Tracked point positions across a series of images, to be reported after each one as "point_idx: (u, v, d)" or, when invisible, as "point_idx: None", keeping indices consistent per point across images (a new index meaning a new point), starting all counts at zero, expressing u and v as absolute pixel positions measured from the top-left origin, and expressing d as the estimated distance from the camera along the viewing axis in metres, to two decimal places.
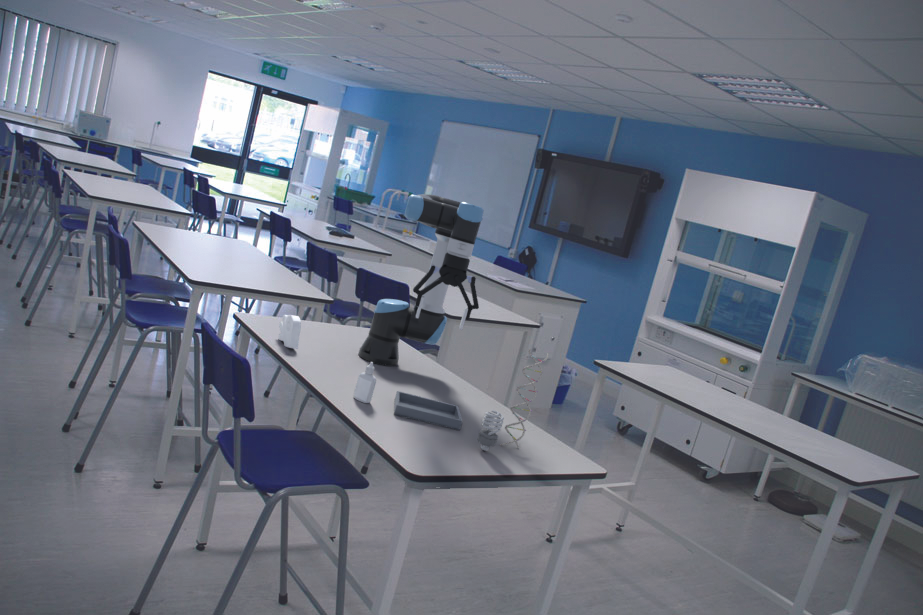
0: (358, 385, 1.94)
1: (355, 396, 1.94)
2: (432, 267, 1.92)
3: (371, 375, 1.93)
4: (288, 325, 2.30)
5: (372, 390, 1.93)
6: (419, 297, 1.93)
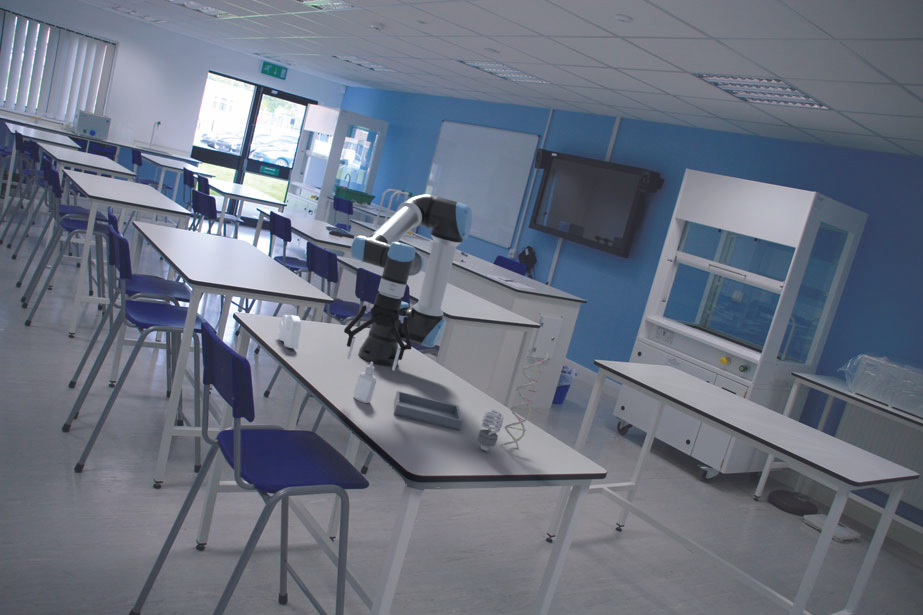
0: (358, 385, 1.94)
1: (355, 396, 1.94)
2: (363, 307, 1.89)
3: (371, 375, 1.93)
4: (288, 325, 2.30)
5: (372, 390, 1.93)
6: (350, 337, 1.91)
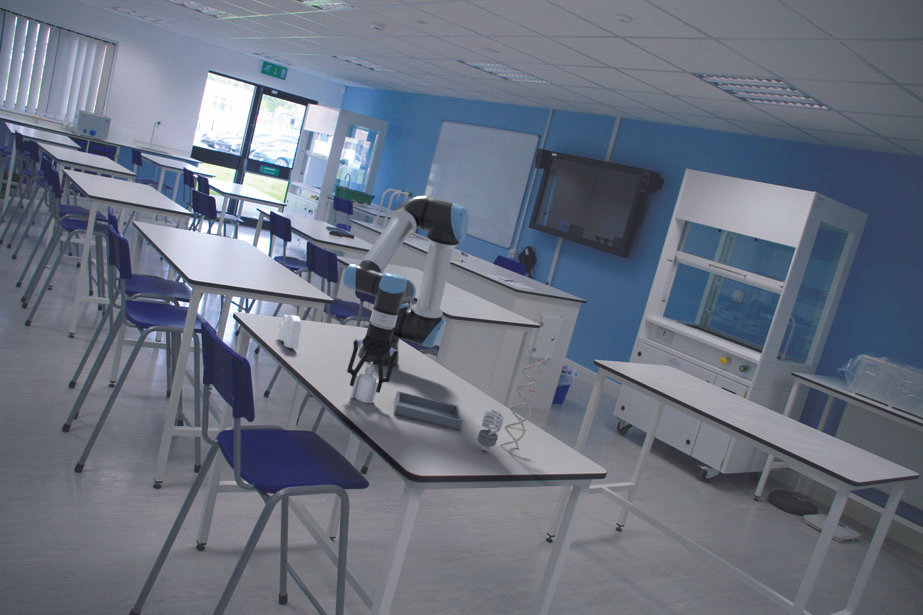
0: (358, 385, 1.94)
1: (355, 396, 1.94)
2: (354, 343, 1.91)
3: (371, 375, 1.93)
4: (288, 325, 2.30)
5: (372, 390, 1.93)
6: (353, 377, 1.93)
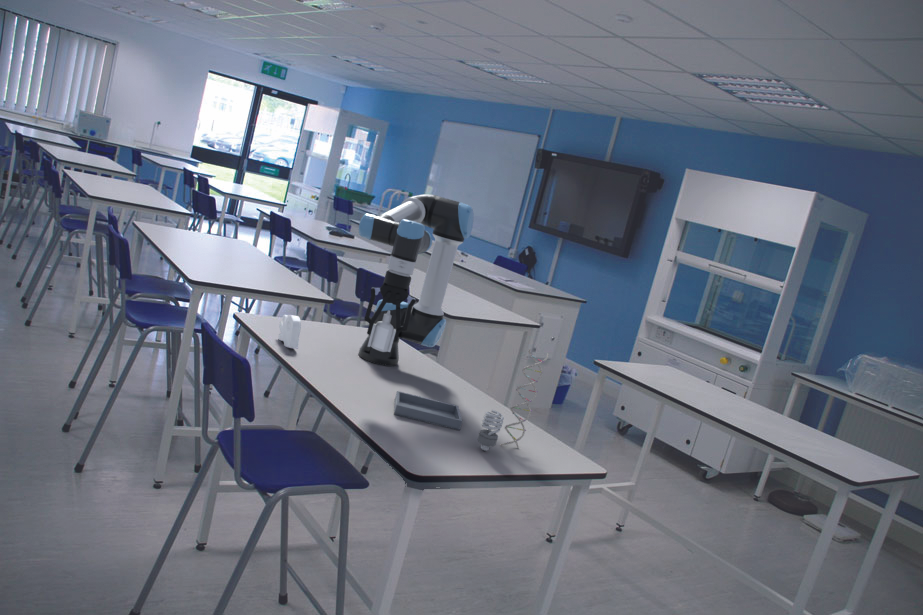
0: (375, 334, 1.92)
1: (372, 345, 1.92)
2: (372, 290, 1.89)
3: (388, 323, 1.91)
4: (288, 325, 2.29)
5: (389, 338, 1.91)
6: (371, 325, 1.91)
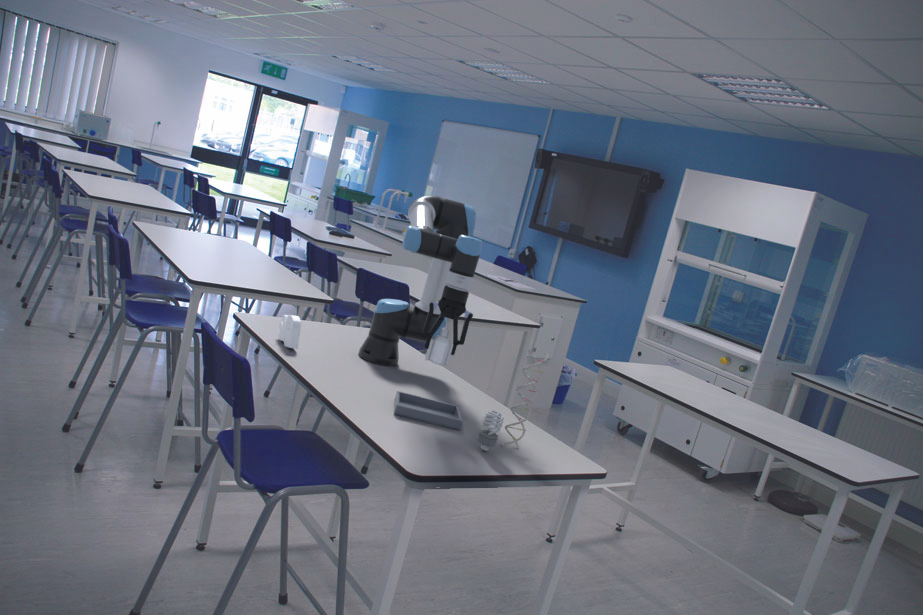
0: (433, 347, 1.95)
1: (430, 358, 1.95)
2: (430, 305, 1.92)
3: (446, 337, 1.94)
4: (288, 325, 2.30)
5: (447, 352, 1.94)
6: (428, 339, 1.94)
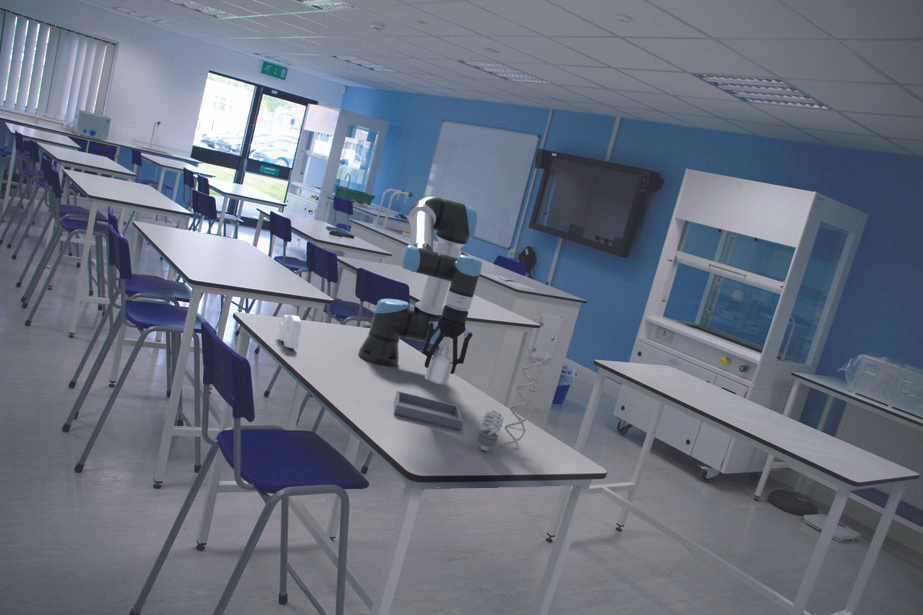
0: (433, 366, 1.96)
1: (429, 377, 1.96)
2: (430, 324, 1.93)
3: (446, 356, 1.95)
4: (288, 325, 2.30)
5: (446, 371, 1.95)
6: (428, 358, 1.95)
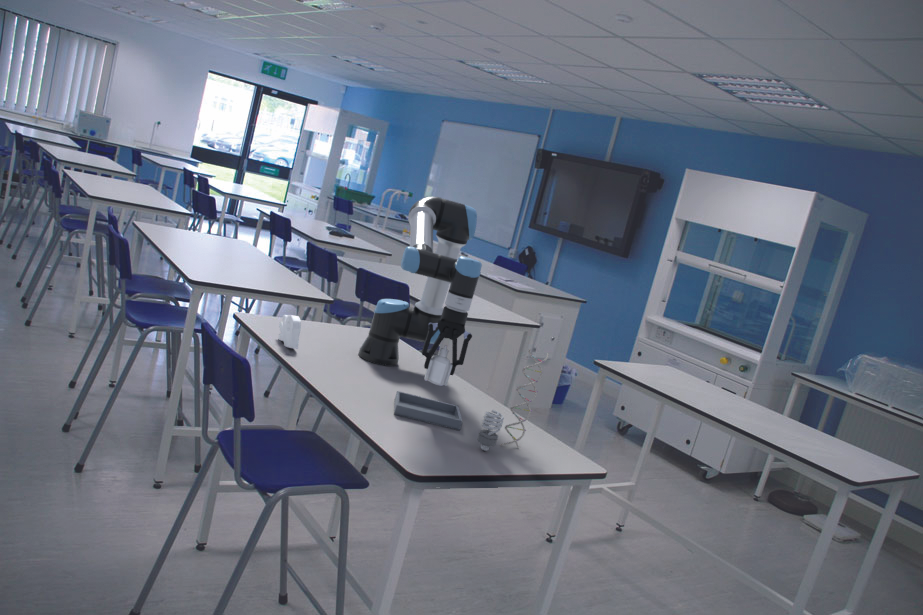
0: (432, 368, 1.96)
1: (429, 379, 1.96)
2: (430, 326, 1.93)
3: (445, 358, 1.95)
4: (288, 325, 2.29)
5: (446, 372, 1.95)
6: (428, 360, 1.95)
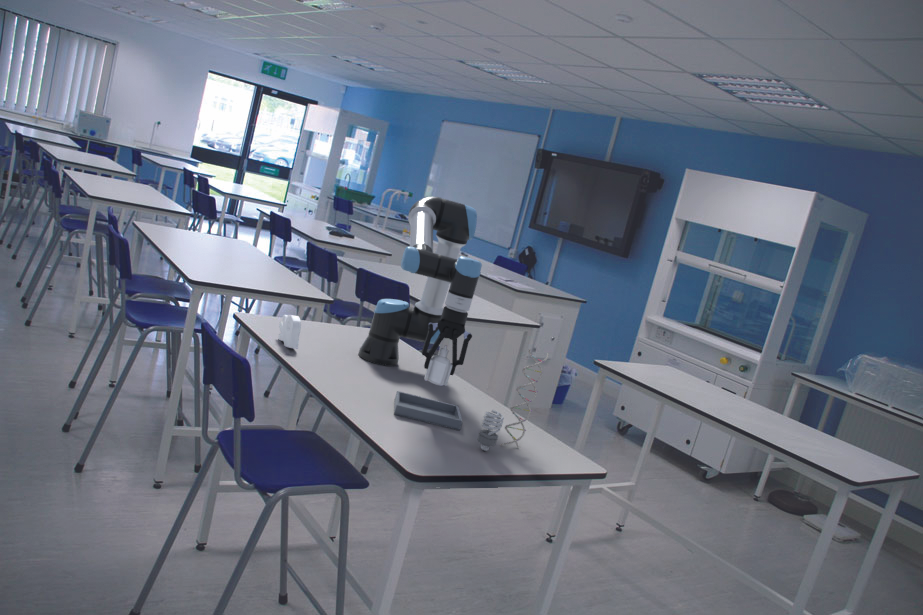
0: (432, 368, 1.96)
1: (429, 379, 1.96)
2: (430, 326, 1.93)
3: (445, 358, 1.95)
4: (288, 325, 2.29)
5: (446, 372, 1.95)
6: (428, 360, 1.95)
